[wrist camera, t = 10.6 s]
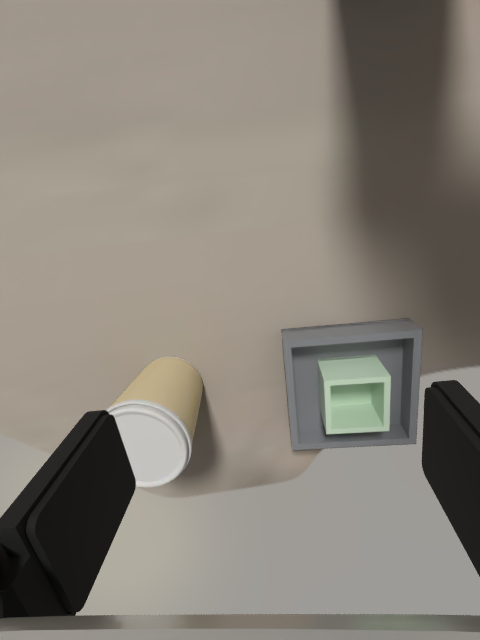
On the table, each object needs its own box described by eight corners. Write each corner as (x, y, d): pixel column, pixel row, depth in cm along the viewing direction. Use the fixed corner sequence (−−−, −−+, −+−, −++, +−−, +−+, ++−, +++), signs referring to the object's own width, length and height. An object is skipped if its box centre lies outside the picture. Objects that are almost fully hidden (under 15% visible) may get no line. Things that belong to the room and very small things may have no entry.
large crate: (281, 329, 39) (282, 341, 36) (408, 318, 38) (422, 329, 34) (290, 431, 44) (292, 450, 40) (404, 424, 42) (416, 443, 39)
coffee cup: (135, 409, 44) (90, 482, 33) (136, 344, 41) (87, 399, 30) (206, 420, 44) (186, 496, 33) (213, 355, 41) (193, 415, 30)
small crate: (317, 359, 39) (324, 381, 34) (375, 354, 38) (390, 376, 34) (319, 407, 41) (326, 434, 37) (375, 404, 41) (389, 431, 36)
